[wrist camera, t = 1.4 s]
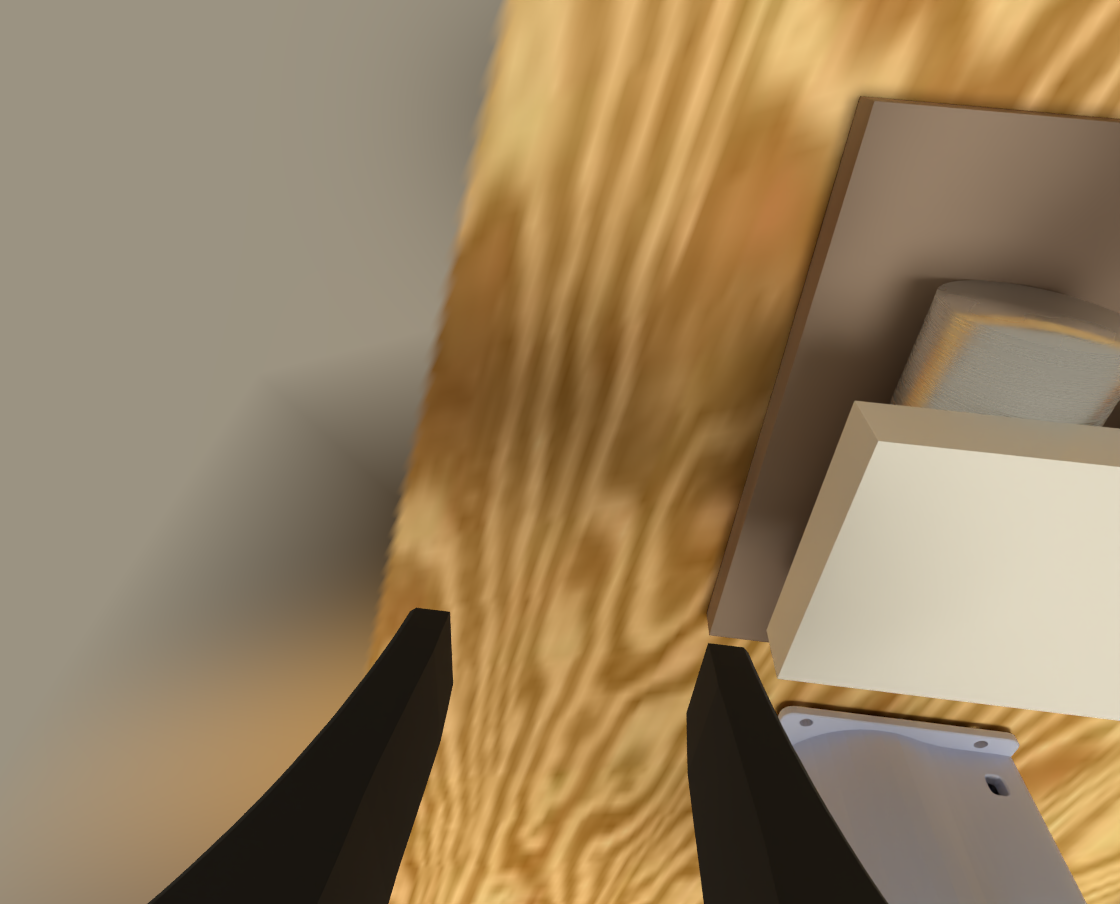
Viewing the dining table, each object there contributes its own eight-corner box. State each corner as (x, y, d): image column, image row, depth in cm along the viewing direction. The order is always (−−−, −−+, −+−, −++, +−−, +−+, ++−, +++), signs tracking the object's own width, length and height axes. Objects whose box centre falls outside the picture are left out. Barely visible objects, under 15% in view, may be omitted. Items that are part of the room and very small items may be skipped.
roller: (1078, 288, 15) (1208, 364, 12) (914, 585, 21) (972, 691, 17) (908, 273, 15) (990, 343, 12) (792, 572, 21) (826, 676, 17)
